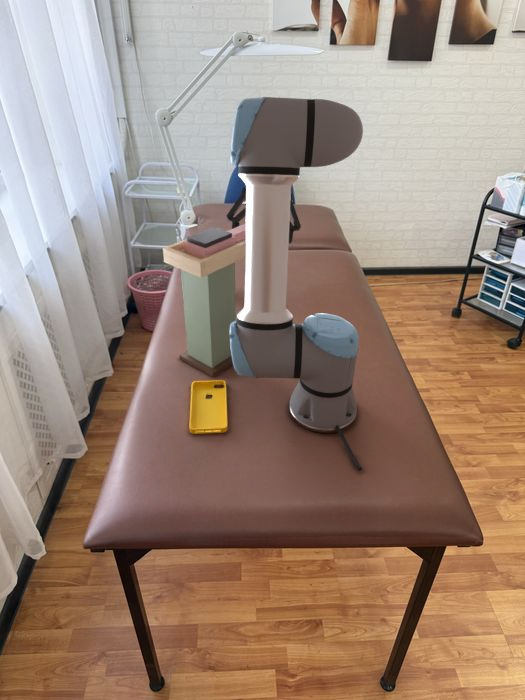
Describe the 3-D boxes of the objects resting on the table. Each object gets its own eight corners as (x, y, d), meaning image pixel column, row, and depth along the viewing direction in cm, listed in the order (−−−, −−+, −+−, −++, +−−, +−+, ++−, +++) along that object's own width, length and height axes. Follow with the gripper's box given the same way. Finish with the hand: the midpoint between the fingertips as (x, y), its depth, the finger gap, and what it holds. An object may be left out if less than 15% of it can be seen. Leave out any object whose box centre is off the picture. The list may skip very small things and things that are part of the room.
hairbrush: (247, 225, 130) (247, 212, 128) (268, 232, 126) (268, 219, 124) (183, 251, 115) (182, 237, 113) (205, 260, 112) (204, 245, 110)
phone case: (189, 434, 109) (189, 429, 109) (192, 385, 123) (191, 381, 123) (227, 432, 110) (227, 428, 109) (225, 384, 124) (225, 379, 123)
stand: (216, 336, 141) (212, 228, 124) (249, 352, 135) (249, 241, 117) (173, 362, 131) (162, 248, 113) (206, 380, 125) (200, 263, 107)
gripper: (313, 186, 143) (303, 260, 141) (224, 173, 142) (214, 247, 141) (316, 175, 135) (307, 253, 134) (224, 162, 134) (213, 240, 133)
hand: (259, 250), depth 137 cm, fingers open, 13 cm apart
